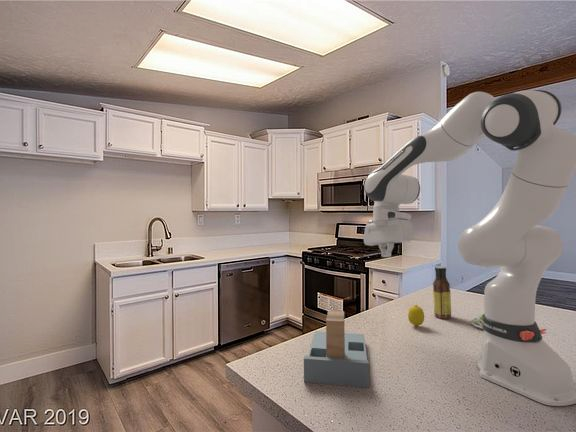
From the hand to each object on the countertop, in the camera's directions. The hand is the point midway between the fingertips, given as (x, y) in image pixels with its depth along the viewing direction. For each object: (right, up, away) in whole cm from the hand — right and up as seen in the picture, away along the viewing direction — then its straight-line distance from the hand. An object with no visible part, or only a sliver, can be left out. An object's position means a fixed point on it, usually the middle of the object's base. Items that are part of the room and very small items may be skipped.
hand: (386, 256), depth 112 cm
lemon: (+13, -27, +7) cm, 31 cm away
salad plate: (+43, -27, +6) cm, 51 cm away
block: (-21, -25, -24) cm, 40 cm away
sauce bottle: (+28, -26, +17) cm, 42 cm away
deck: (-19, -28, -18) cm, 38 cm away
